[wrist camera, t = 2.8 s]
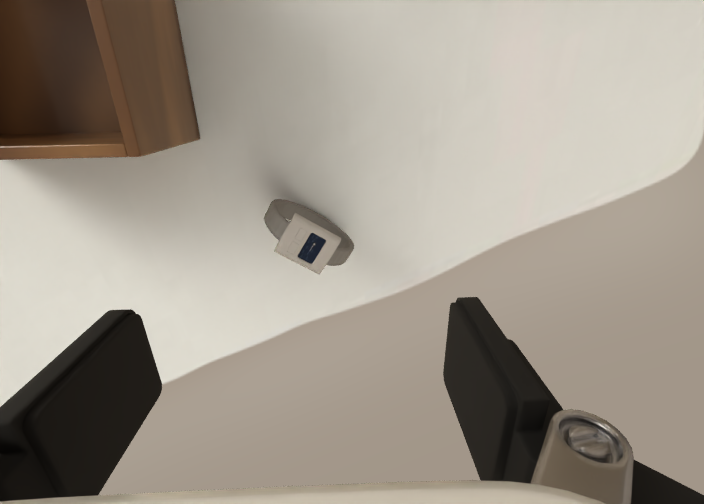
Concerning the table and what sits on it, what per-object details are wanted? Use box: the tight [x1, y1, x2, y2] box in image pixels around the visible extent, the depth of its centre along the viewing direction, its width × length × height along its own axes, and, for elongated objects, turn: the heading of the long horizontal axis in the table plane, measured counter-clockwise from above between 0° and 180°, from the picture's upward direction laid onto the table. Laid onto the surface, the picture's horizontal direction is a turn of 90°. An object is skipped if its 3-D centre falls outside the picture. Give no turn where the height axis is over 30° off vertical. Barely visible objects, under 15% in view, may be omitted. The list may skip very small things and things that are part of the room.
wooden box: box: [0, 0, 200, 160], centre depth 17 cm, size 14×10×8 cm
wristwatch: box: [264, 199, 354, 274], centre depth 23 cm, size 6×3×5 cm, turn 59°
